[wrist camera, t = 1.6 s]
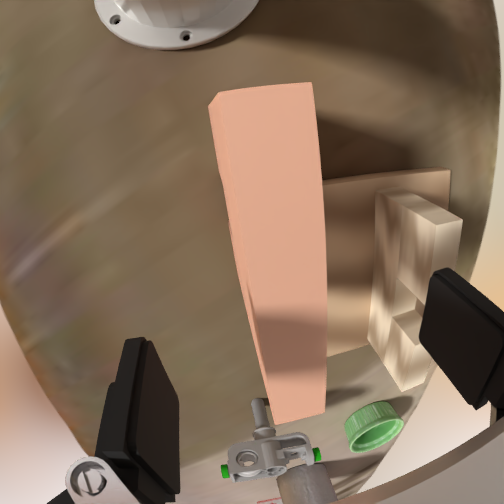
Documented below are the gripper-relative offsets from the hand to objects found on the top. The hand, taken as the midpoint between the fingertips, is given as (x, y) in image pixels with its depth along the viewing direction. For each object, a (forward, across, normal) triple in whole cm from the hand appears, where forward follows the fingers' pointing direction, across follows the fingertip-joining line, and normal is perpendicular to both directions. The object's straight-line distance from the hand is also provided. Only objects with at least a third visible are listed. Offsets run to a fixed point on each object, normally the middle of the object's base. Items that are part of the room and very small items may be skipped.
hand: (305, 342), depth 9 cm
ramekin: (+17, -14, +36) cm, 43 cm away
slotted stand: (+16, -12, +8) cm, 22 cm away
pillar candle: (+17, -3, +52) cm, 55 cm away
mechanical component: (+17, +2, +24) cm, 30 cm away
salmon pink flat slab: (+16, 0, -1) cm, 16 cm away
